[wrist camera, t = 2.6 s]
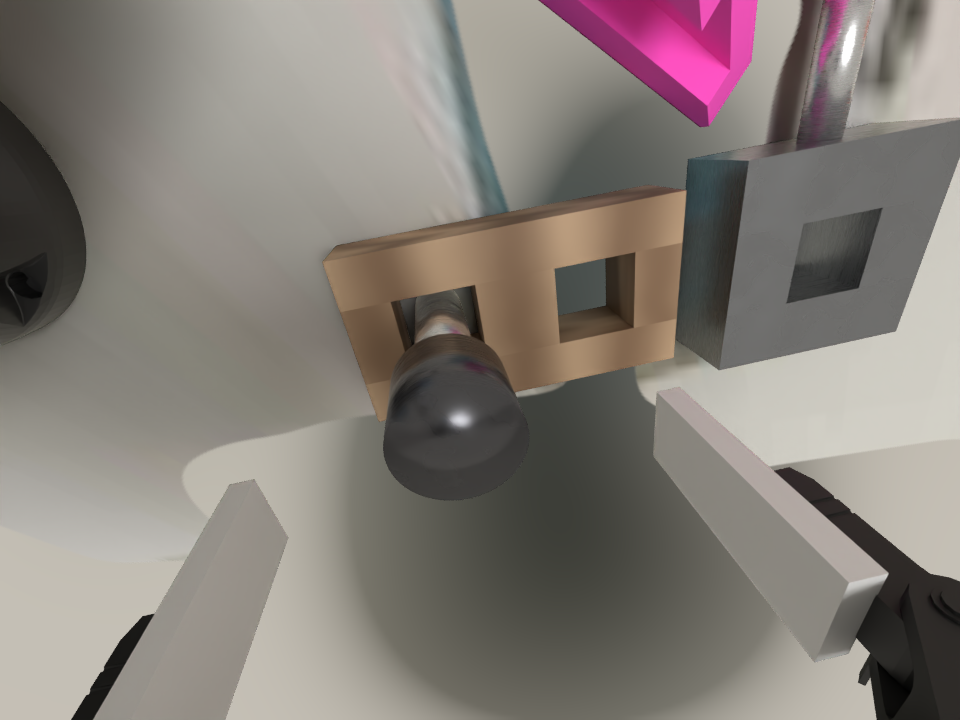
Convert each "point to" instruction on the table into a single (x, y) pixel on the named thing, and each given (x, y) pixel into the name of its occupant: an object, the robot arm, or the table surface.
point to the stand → (524, 286)
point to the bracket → (672, 45)
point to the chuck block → (811, 219)
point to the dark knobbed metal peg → (451, 409)
